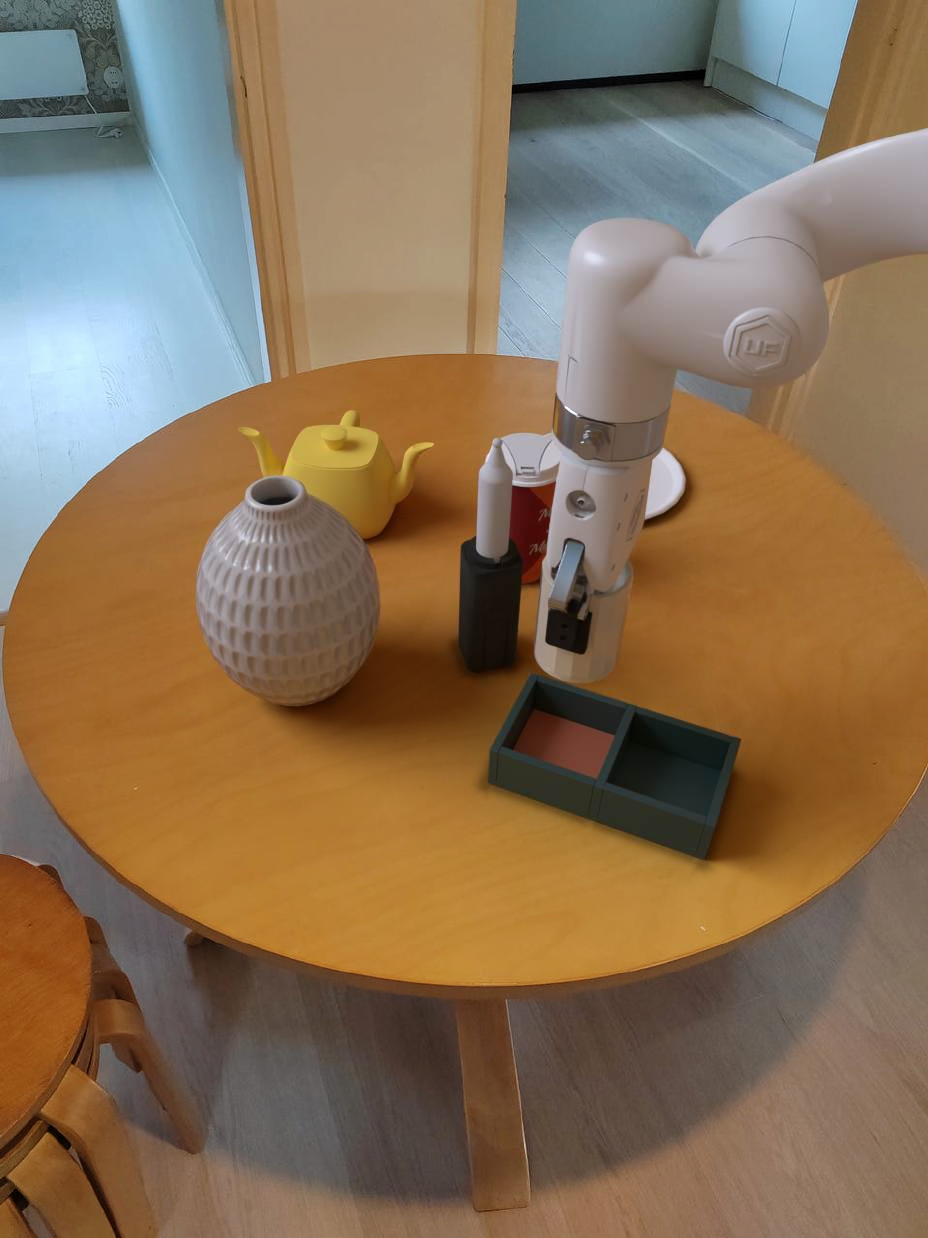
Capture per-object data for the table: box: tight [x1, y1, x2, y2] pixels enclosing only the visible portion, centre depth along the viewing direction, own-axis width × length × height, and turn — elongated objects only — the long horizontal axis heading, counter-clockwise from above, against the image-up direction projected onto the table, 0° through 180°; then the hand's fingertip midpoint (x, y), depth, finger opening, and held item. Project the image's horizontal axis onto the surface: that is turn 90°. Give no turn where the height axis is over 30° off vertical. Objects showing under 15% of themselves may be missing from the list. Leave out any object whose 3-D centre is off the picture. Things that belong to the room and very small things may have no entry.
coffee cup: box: [484, 432, 562, 585], centre depth 104 cm, size 8×8×15 cm
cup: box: [533, 556, 635, 684], centre depth 77 cm, size 7×7×9 cm
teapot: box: [237, 409, 435, 540], centre depth 113 cm, size 22×16×11 cm
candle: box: [457, 437, 523, 674], centre depth 90 cm, size 5×5×25 cm
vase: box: [194, 476, 382, 707], centre depth 88 cm, size 16×16×22 cm
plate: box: [542, 432, 687, 522], centre depth 121 cm, size 21×21×1 cm
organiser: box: [487, 672, 742, 861], centre depth 86 cm, size 19×10×5 cm, turn 67°
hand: (581, 615), depth 77 cm, fingers closed on cup, 6 cm apart
